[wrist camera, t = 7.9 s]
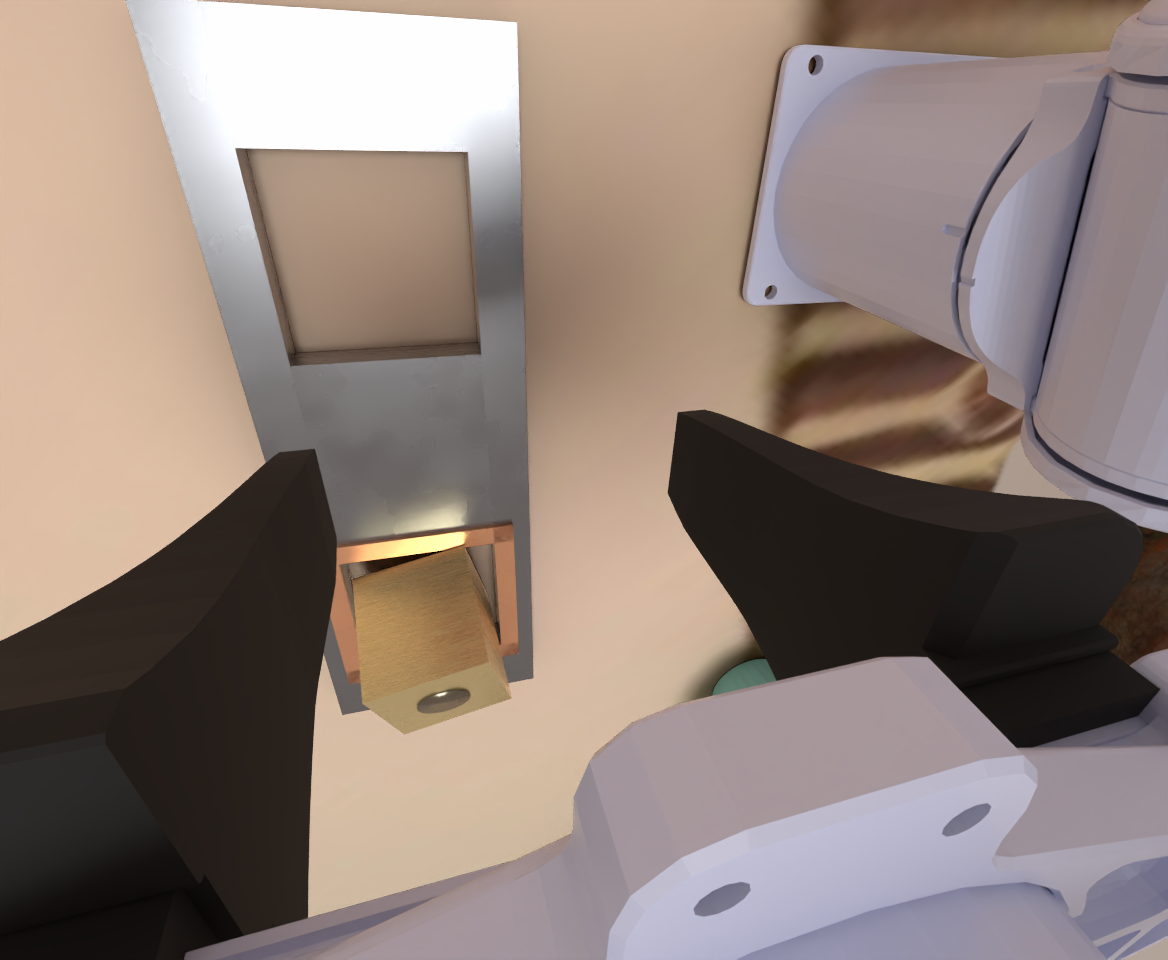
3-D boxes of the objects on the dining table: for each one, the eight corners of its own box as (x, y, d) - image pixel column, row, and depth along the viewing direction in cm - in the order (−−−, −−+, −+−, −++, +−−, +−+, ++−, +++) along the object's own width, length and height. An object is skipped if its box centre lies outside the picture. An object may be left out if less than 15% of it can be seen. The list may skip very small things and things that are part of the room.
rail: (509, 27, 16) (518, 21, 15) (529, 659, 30) (534, 681, 29) (142, 2, 14) (120, -6, 13) (344, 693, 28) (342, 718, 27)
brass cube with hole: (464, 545, 24) (489, 663, 21) (487, 593, 27) (511, 699, 24) (352, 579, 23) (362, 705, 20) (391, 623, 27) (405, 736, 24)
